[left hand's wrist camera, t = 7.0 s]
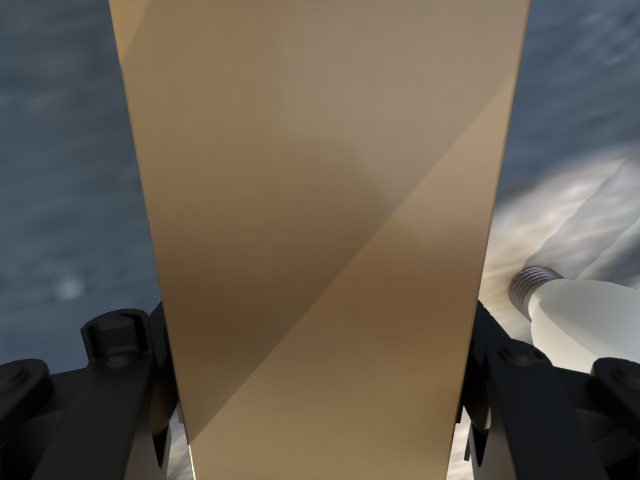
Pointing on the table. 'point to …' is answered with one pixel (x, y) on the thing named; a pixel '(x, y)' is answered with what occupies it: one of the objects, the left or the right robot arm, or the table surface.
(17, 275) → the table surface
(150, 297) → the table surface
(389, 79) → the bar
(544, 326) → the light bulb
